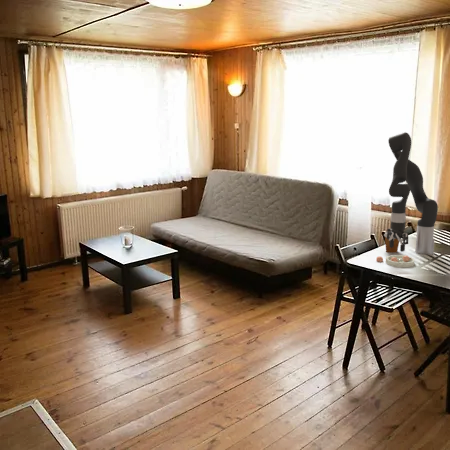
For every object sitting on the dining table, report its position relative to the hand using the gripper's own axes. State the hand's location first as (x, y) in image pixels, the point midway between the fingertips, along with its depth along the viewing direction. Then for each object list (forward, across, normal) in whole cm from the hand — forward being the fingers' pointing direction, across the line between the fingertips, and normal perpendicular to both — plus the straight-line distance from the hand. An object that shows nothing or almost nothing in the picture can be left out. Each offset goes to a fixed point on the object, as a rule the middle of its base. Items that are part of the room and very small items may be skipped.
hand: (396, 249), depth 257 cm
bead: (+8, -1, -1) cm, 9 cm away
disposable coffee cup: (+10, -21, +15) cm, 28 cm away
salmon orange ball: (+8, -1, +7) cm, 11 cm away
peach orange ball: (+9, -8, -4) cm, 13 cm away
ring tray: (+9, -1, +3) cm, 10 cm away
